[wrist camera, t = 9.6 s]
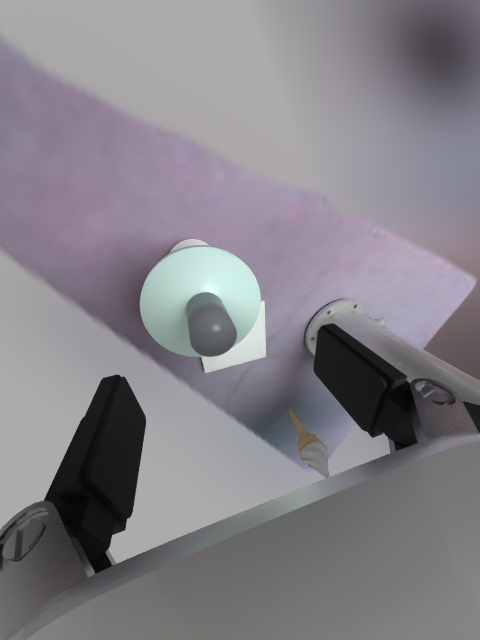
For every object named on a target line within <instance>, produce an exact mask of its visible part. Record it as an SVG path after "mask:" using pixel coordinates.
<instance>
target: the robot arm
mask: <svg viewBox="0 0 480 640" xmlns="http://www.w3.org/2000/svg"><path fill="white" fill-rule="evenodd" d="M385 323H386V321H385V319H384V318H378V319H375V320H374V319H372V318H370V317H368V316H366V312H365V309H364V308H363V306H362V305H361V304H359V303H358V302H356V301H354V300H350V299H341V300H337V301H335V302H332V303H330V304H329V305H327V306H325V307H324V308H323V309H322V310H320V311H319V312H318V313H317V314H316V315H315V317H314V318H313V319H312V321H311V323H310V324H309V326H308V329H307V332H306V337H305V340H306V346H307V348H308V350H309V351H310V352H311V353H312V354H313V355H314V356H315V359H314V372H315V374H316V375H317V377H318V378H319V379H320V380H321V381H322V383H323V384H324V385H325V386H326V387H327V389H328V390H329V391H330V392H331V393H332V394H333V396H334V397H335V398H336V399H337V400H338V402H339V403H340V404H341V405H342V406H343V408H344V409H345V410H346V411H347V412H348V413H349V415H350V416H351V417H352V418H353V419H354V421H355V422H356V423H357V424H358V425H359V426H360V428H361V429H362V430H364V431H367V432H368V433H369V435H370V436H371V437H372V438H373V437H376V436H378V435H381V434H383V433H384V434H385V435H386V436H387V437H388V440H389V446H390V454H387V455H385V456H382V457H380V458H377V459H375V460H372V461H369V462H367V463H365V464H362V465H359V466H357V467H354V468H352V469H349V470H346V471H344V472H341V473H339V474H337V475H334V476H331V477H329V478H326V479H324V480H321V481H319V482H316V483H314V484H311V485H308V486H306V487H304V488H301V489H298V490H296V491H293V492H291V493H288V494H286V495H283V496H281V497H279V498H276V499H273V500H271V501H268V502H266V503H263V504H261V505H258V506H256V507H253V508H251V509H249V510H246V511H244V512H241V513H238V514H236V515H233V516H231V517H229V518H226V519H223V520H221V521H219V522H216V523H214V524H211V525H209V526H206V527H204V528H201V529H199V530H196V531H194V532H192V533H189V534H187V535H184V536H182V537H179V538H176V539H174V540H172V541H169V542H167V543H165V544H163V545H160V546H158V547H155V548H153V549H150V550H148V551H146V552H143V553H141V554H139V555H136V556H134V557H132V558H129V559H127V560H125V561H122V562H120V563H118V564H116V562H115V560H114V559H113V557H112V555H111V554H110V552H109V550H108V548H109V547H110V542H111V538H112V535H114V534H116V533H119V532H121V531H124V530H125V528H126V522H127V519H128V518H130V517H131V514H132V512H133V506H134V499H135V493H136V486H137V479H138V472H139V466H140V460H141V453H142V446H143V439H144V433H145V427H146V418H145V415H144V413H143V411H142V409H141V407H140V405H139V403H138V401H137V399H136V397H135V395H134V393H133V391H132V389H131V387H130V386H129V384H128V382H127V380H126V378H125V377H121V376H120V375H114V376H109V377H105V378H103V379H102V380H101V382H100V384H99V386H98V388H97V391H96V393H95V395H94V397H93V400H92V402H91V404H90V406H89V408H88V411H87V413H86V415H85V417H83V419H82V420H81V422H80V424H79V426H78V428H77V430H76V433H75V435H74V437H73V439H72V441H71V443H70V445H69V447H68V450H67V452H66V454H65V456H64V458H63V460H62V463H61V465H60V467H59V469H58V471H57V473H56V475H55V477H54V480H53V482H52V484H51V486H50V488H49V491H48V493H47V495H46V497H45V499H44V501H40V502H36V503H34V504H32V505H30V506H28V507H26V508H24V509H23V510H22V511H20V512H19V513H17V514H16V515H15V516H14V517H13V518H12V519H10V520H9V521H8V522H7V523H6V524H5V525H4V526H3V527H2V529H1V530H0V640H480V381H478V380H477V379H475V378H473V377H471V376H469V375H467V374H465V373H464V372H462V371H460V370H458V369H456V368H455V367H453V366H451V365H449V364H448V363H446V362H444V361H442V360H440V359H439V358H437V357H435V356H433V355H431V354H430V353H428V352H426V351H424V350H423V349H421V348H419V347H417V346H416V345H414V344H412V343H410V342H409V341H407V340H405V339H403V338H401V337H400V336H398V335H396V334H394V333H393V332H391V331H389V330H388V329H387V328H386V327H385V326H380V325H384V324H385Z"/></svg>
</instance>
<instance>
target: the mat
mask: <svg viewBox="0 0 480 640" xmlns="http://www.w3.org/2000/svg"><path fill="white" fill-rule="evenodd" d="M263 357H266V337H265V306H264V300H263V299H261V304H260V311H259V314H258V318H257V320H256V322H255V324H254V326H253V328H252V329H251V331H250V332H249V334H248V335H247V336H246V337H245V338H244V339H243V340H242V341H241V342H240V343H238V344H237V345H235V346H234V347H232V348H231V349H230V350H229V351H227V352H226V353H224V354H222V355H219V356H215V357H201V358H202V362H203V366H204V370H205V373H208V372H212V371H215V370H219V369H223V368H226V367H230V366H234V365H237V364H241V363H245V362H248V361H252V360H256V359H260V358H263Z"/></svg>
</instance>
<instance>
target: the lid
mask: <svg viewBox="0 0 480 640" xmlns="http://www.w3.org/2000/svg"><path fill="white" fill-rule="evenodd" d="M260 304H261V296H260V290H259V286H258V283H257V280H256V278H255V276H254V275H253V273H252V271H251V270H250V269H249V268H248V266H247V265H246V264H245V263H243V262H242V261H241V260H240V259H239V258H237V257H236V256H234V255H233V254H232V253H230V252H228V251H226V250H224V249H221V248H218V247H213V246H208V245H195V246H188V247H184V248H181V249H178V250H175V251H173V252H171V253H170V254H168V255H166V256H165V257H164V258H162V259H161V260H160V261H159V262H158V263H157V264H156V265H155V266H154V267H153V268H152V270H151V271H150V273H149V274H148V276H147V278H146V280H145V283H144V286H143V289H142V292H141V297H140V312H141V317H142V320H143V323H144V325H145V327H146V329H147V331H148V332H149V334H150V335H151V336H152V338H153V339H154V340H155V341H156V342H157V343H159V344H160V345H161V346H163V347H164V348H166V349H167V350H169V351H171V352H174V353H176V354H179V355H183V356H189V357H215V356H219V355H222V354H224V353H226V352H227V351H229V350H230V349H231V348H232V347H234V346H235V345H237V344H238V343H240V342H241V341H242V340H243V339H244V338H245V337H246V336H247V335H248V334H249V332H250V331H251V329H252V328H253V326H254V324H255V322H256V320H257V318H258V314H259V311H260Z"/></svg>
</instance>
